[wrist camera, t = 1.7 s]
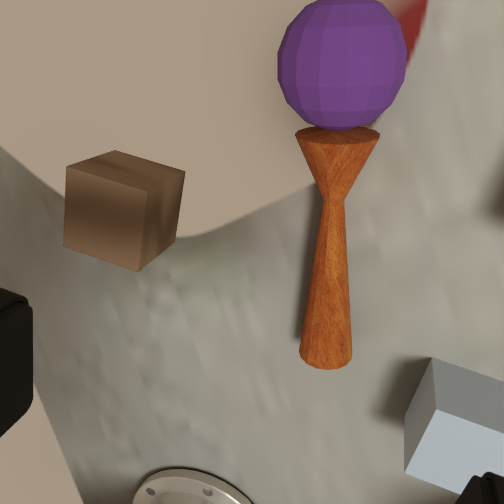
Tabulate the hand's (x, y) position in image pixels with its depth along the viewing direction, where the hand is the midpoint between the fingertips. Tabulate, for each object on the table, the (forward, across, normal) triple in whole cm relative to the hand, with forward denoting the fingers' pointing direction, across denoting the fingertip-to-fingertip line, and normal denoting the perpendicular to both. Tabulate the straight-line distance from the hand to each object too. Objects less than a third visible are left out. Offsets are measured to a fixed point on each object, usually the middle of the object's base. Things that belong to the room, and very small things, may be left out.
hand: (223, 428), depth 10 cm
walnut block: (+20, +12, +5) cm, 24 cm away
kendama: (+20, 0, +1) cm, 21 cm away
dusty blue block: (+20, -11, +12) cm, 26 cm away
